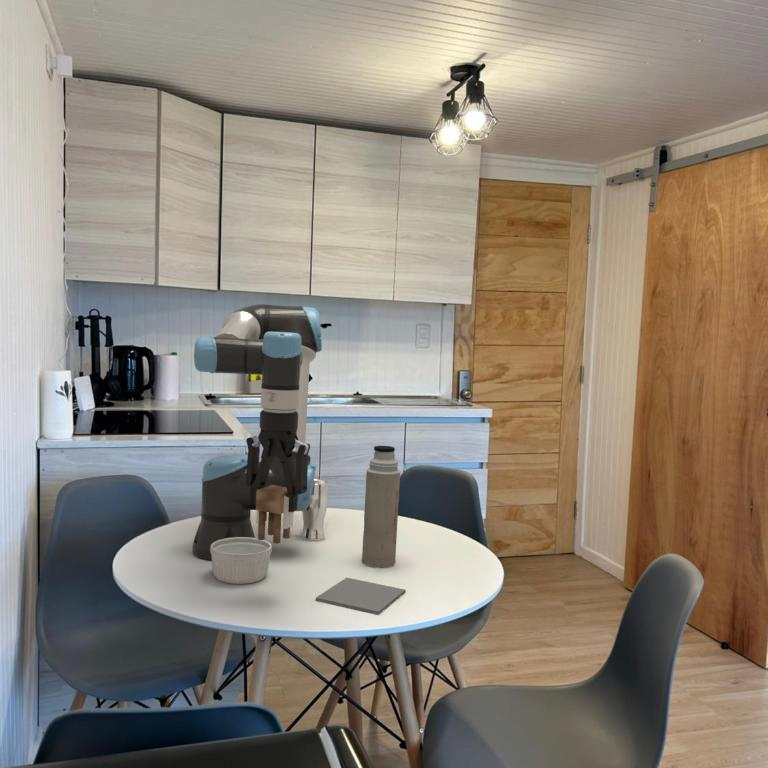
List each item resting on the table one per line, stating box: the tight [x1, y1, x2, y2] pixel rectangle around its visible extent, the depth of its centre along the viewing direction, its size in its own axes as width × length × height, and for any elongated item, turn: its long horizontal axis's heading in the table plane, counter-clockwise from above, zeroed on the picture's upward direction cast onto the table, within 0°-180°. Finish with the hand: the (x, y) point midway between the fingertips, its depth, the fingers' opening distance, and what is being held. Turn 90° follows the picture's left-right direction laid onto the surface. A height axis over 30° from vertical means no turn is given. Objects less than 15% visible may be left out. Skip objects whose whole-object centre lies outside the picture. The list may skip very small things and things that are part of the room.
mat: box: [315, 577, 406, 615], centre depth 148 cm, size 14×14×1 cm
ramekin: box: [210, 537, 273, 585], centre depth 157 cm, size 13×13×7 cm
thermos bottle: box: [361, 445, 401, 568], centre depth 170 cm, size 8×8×28 cm
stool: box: [255, 485, 291, 544], centre depth 143 cm, size 6×6×10 cm
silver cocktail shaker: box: [300, 478, 329, 542], centre depth 188 cm, size 7×7×15 cm
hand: (274, 524), depth 144 cm, fingers closed on stool, 5 cm apart
